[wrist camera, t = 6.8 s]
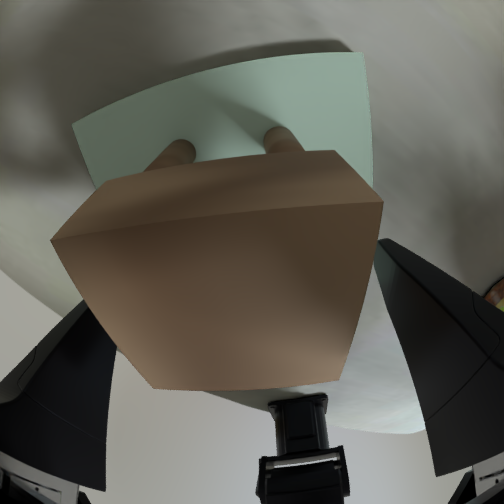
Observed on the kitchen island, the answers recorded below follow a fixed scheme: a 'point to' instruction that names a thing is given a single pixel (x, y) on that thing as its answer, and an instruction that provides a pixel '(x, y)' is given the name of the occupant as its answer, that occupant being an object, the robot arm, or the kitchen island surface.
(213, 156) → the pad
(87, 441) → the robot arm
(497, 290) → the sauce bottle
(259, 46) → the kitchen island surface
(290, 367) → the stool
